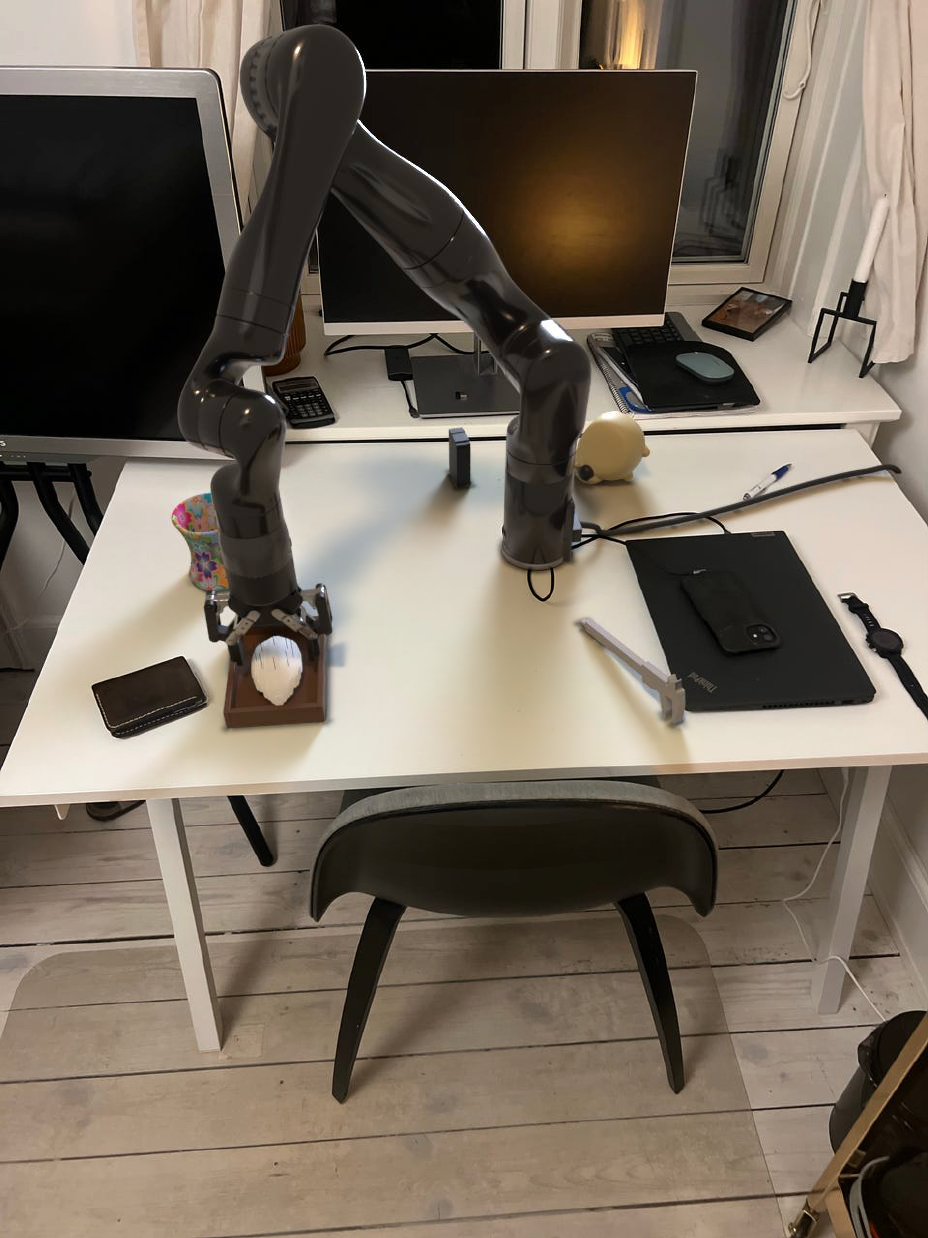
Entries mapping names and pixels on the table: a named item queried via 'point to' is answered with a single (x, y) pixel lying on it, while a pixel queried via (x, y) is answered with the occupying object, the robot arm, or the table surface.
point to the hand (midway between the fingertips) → (277, 658)
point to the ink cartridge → (459, 457)
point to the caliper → (644, 672)
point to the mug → (201, 541)
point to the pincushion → (276, 668)
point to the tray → (250, 703)
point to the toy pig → (610, 449)
